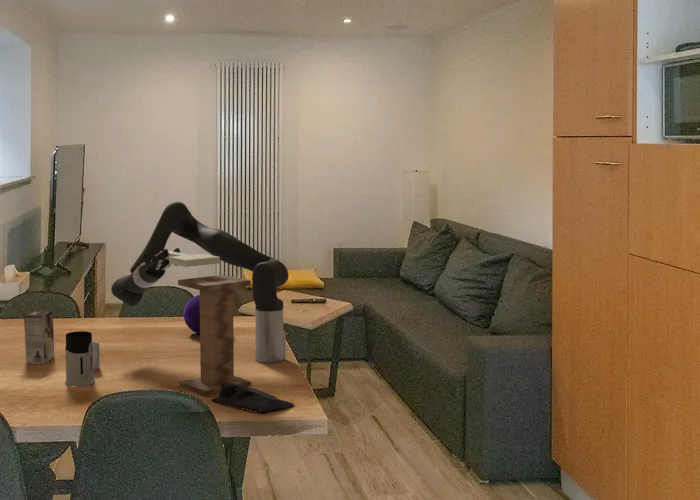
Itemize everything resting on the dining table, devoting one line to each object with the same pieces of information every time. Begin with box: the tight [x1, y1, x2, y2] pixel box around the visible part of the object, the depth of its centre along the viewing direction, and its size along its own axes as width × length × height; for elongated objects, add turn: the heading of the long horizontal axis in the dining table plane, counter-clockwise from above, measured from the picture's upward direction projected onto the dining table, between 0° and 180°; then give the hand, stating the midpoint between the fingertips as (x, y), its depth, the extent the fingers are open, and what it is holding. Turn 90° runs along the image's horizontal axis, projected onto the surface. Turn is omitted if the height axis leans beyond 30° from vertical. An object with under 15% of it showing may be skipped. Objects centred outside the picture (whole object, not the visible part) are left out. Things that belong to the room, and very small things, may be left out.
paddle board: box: [160, 250, 221, 268], centre depth 269 cm, size 12×22×2 cm, turn 43°
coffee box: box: [23, 310, 55, 365], centre depth 289 cm, size 9×6×16 cm
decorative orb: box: [183, 294, 200, 335], centre depth 332 cm, size 15×15×15 cm
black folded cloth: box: [211, 383, 295, 413], centre depth 246 cm, size 15×22×5 cm
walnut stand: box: [177, 274, 252, 397], centre depth 260 cm, size 16×14×32 cm
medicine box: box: [92, 340, 101, 370], centre depth 279 cm, size 8×4×9 cm, turn 130°
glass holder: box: [64, 330, 100, 387], centre depth 262 cm, size 9×14×15 cm, turn 51°
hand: (173, 251), depth 273 cm, fingers closed on paddle board, 3 cm apart
